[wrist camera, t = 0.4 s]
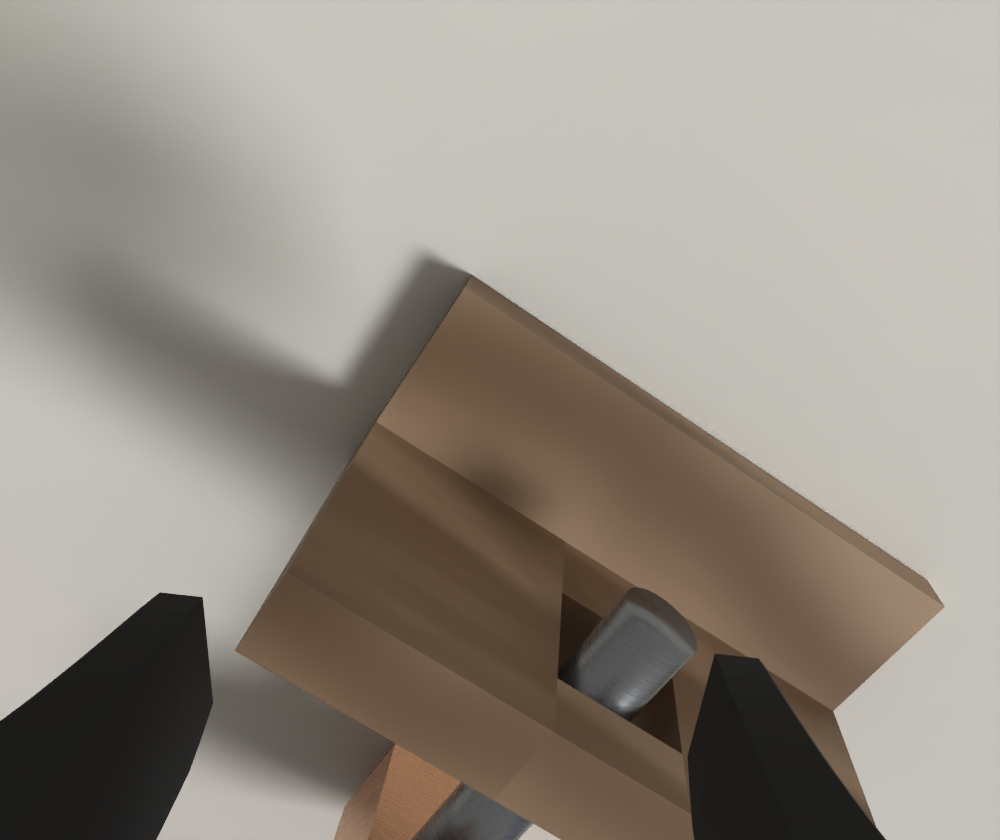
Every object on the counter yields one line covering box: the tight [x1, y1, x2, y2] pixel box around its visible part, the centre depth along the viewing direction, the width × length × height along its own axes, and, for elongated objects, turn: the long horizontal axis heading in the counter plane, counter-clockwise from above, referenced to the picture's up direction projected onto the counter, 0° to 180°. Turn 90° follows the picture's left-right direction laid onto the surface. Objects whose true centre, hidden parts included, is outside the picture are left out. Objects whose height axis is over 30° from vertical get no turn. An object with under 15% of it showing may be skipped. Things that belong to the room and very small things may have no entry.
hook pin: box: [334, 587, 698, 840], centre depth 22 cm, size 13×3×6 cm, turn 147°
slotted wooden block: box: [235, 275, 944, 840], centre depth 19 cm, size 6×14×8 cm, turn 57°
